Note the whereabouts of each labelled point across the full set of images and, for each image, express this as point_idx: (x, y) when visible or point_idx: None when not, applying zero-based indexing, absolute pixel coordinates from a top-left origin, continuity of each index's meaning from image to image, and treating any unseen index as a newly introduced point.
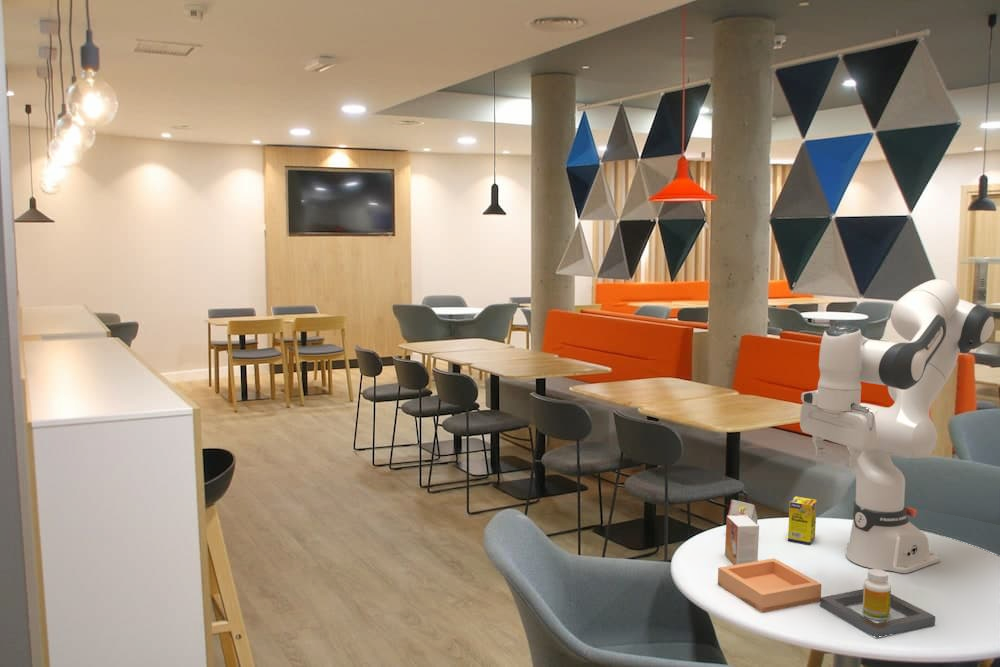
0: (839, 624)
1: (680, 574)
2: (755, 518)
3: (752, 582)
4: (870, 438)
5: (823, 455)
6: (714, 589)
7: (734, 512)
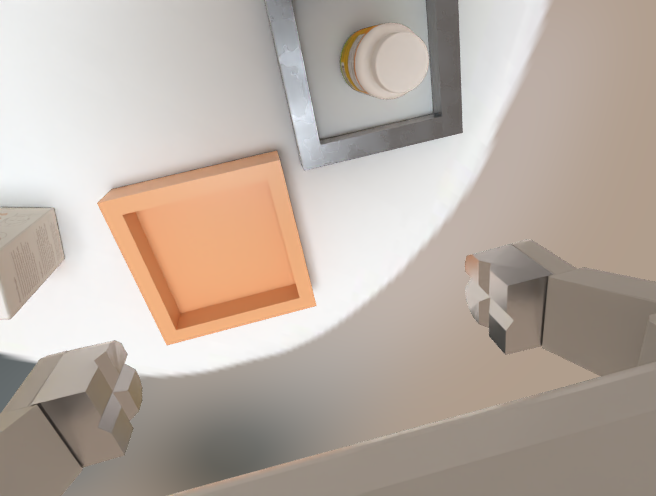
0: (385, 167)
1: None
2: None
3: (188, 267)
4: None
5: (122, 366)
6: None
7: None
